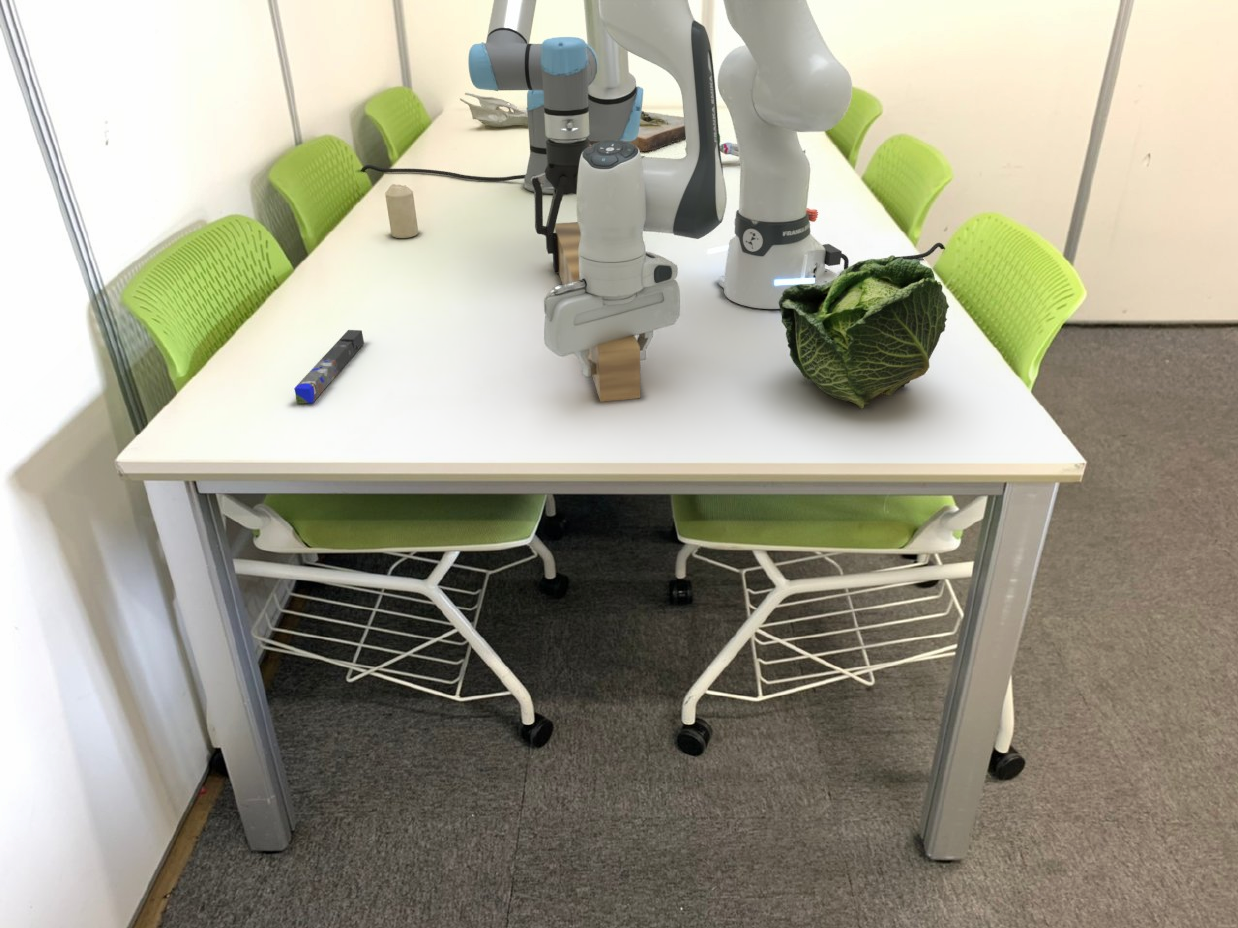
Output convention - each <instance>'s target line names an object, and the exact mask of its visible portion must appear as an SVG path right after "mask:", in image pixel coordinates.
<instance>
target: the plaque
mask: <svg viewBox="0 0 1238 928" xmlns="http://www.w3.org/2000/svg"><path fill="white" fill-rule="evenodd" d="M684 139H685V140H686V136H685V125H684V116H679V115H669V114H663V113H659V112H650V111H644V110H641V119H640V126H639V133H638V136H637V138H636V139H635V140H633V141H627V142H630V143H632V144H634V145H636V146H637V147H638V149H639V151H640V152H648V151H654V150H656V149H659V148H662V147H663V146H664V147H665V146H667V145H670V144H672V143H676V142H680V141H682V140H684ZM598 142H602V141H590V144H591V145H592V144H595V143H598Z"/></svg>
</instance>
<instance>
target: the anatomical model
mask: <svg viewBox="0 0 1238 928" xmlns="http://www.w3.org/2000/svg"><path fill="white" fill-rule="evenodd" d="M464 96H470V97H473V98H475V99H477V100H478V102H479V105H477V104H473V103H471V102H468V101H467V100H465V99H463V98H461V97H460V98H459V100H460V101H461V102H463V103H464V104H466V105H467V106H468V107H469V110H470V113H471V116H472V120H477V121H479V122H481V124H482V125H487V126H488V127H491V128H505V127H510V126H520V125H522V126H528V114H527V110H526V109H525V110H524V109H520V108H518V107H517V106H516V105H515V104H513V103H511V102H510V101H507V100H504V99H502V98H497V97H493V96H485V95H483V96H482V95H478V94H474V93H470V92H464ZM502 108H506V109H508V111H506V110H503V109H502Z"/></svg>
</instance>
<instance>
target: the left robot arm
mask: <svg viewBox="0 0 1238 928" xmlns="http://www.w3.org/2000/svg"><path fill="white" fill-rule="evenodd" d="M536 6H537V0H493V3H492V9H491V13H490V18H489V19H490V20H489V25H488V30H487V35H486V40H485V41H486V42H481V43H474V44H472V46H470V48H469V53H468V60H467V61H468V73H469V77H470V81H471V83H472V85H473V86H474V87H475V88H476V89H478V90H483V91H495V92H499V91H527V93H526V109H525V110H527V114H528V125H527V127H528V140H529V141H528V142H529V157H528V162H527V168H526V172H525V174H518V175H517V174H516V175H510V176H500V177H499V176H498V177H497V176H494V177H493V176H477V175H476V176H475V175H469V174H461V173H456V172H451V171H445V170H437V169H427V168H426V169H425V168H388V167H387V168H386V167H385V168H383V167H379V166H376V165H373V164H366V165H364V166H363V167H361V169H360V172H365V171H366V170H369V169H370V170H374V171H377V172H381V173H419V174H420V173H421V174H432V175H441V176H447V177H453V178H458V179H463V180H471V181H481V182H482V181H483V182H505V181H506V182H507V181H514V180H523V183H524V188H525V189H526V190H527V191H530V192H531V193H534V196H533V197H534V229H535V232H536V234H538V235H542V236H544V237H545V246H546V247H545V248H546V251H547V254H548V255H550V254H552V265H553V266H552V267H553V271H554V273H559V259H558V240H557V235H556V233H554V229H555V225H556V223H557V220H558V216H559V212H560V207H561V203H562V200H563V197H564V196H566V195H569V194H573V195H577V179H578V169H579V162H580V157H581V154H582V152H583V151H584V150H585V149H586V148H587V147H589V146H590V145H591V143H590V141H606V140H622V141H633V140H635V139H636V138H637V136H638V133H639V126H640V119H641V110H642V109H643V103H644V102H643V100H644V88H643V87H641V86H637V80H636V77H635V76H634V75H633V74H632V73H630V68H629V51H627V50H626V49H624V48H623V47H621V46H620V45H619V44H617V43H616V42H615V41H614V40H613V39H612V38H611V36H610V35H609V34H608V32H607V31H606V29H605V27H604V25H603V23H602V21H601V18H600V12H599V0H583V9H584V10H583V11H584V19H585V20H584V22H585V29H586V30H585V31H586V33H585V34H586V41H585V40H584V39H583V38H580V37H576V36H557V37H551V38H546V39H545V40H543V41H542V43H530V41H531V35H532V28H533V24H534V17H535V12H536V11H535V10H536ZM642 111H643V110H642ZM544 194H545V195H552V197H551V203H550V207H549V212H548V216H547V219H546V224H545V225H544V211H543V209H544V207H543V204H544V203H543V202H544V201H543V198H544V197H543V196H544Z"/></svg>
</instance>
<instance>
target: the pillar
mask: <svg viewBox="0 0 1238 928" xmlns="http://www.w3.org/2000/svg"><path fill="white" fill-rule="evenodd" d="M364 344H365V339H364V335H363V330H361V329H347V330H346V331H345V333H344V334H343V335H342V336H341V337H340V338H339V339H338V340H337V341H336V342H335V343H334V344H333V346H332V347H331V348H330V349H329V350H328V351H327V352H326V353H325V354H324V355H323V356H322V358H320V360H319V361H318V362H317V363H316V364H315V365H314V366H313V367H312V368H311V369H310V370H309V372H308V373H307V374H306V375H305V376H304V377H303V378H302V379H301V380H300V381H299V382H298V384H296V386H295V387H294V393H295V401H296V404H313V403H314V402H315V401H316V400H317V398H319V396H321V394H322V393H323V392H324V390H326V388H327V387H328V386H329V385H330V384H331V383H332V382H333V380H334V379H335V377H336V376H338V374H339V373H340V372H341V371H342V370H343V368H344V367H345V366H346V365H347V364H348V363H349V361H351V359H352V358H353V357H354V356H355V354H356V353H357V352H358V351H359V350H360V349H361V347H362V346H363V345H364Z"/></svg>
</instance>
